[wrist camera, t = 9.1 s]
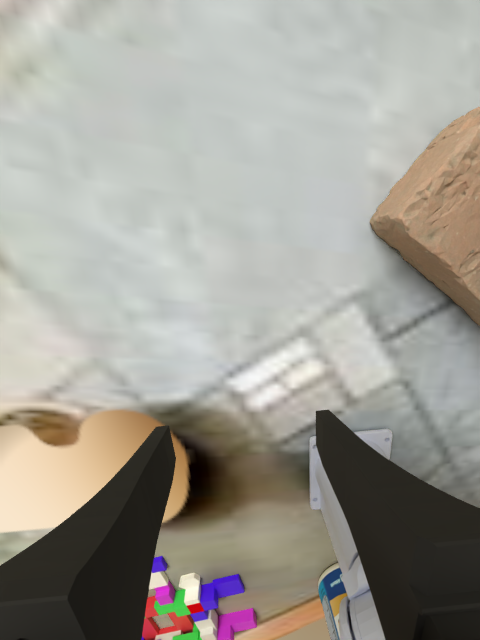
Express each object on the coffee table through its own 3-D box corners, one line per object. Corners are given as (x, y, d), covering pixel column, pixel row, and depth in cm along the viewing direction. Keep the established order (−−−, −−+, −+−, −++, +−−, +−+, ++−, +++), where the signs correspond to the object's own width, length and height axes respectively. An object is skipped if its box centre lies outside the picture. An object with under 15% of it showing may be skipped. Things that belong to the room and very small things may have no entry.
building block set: (221, 530, 31) (219, 578, 27) (265, 628, 37) (270, 679, 33) (22, 578, 32) (-10, 631, 28) (98, 665, 39) (81, 719, 34)
